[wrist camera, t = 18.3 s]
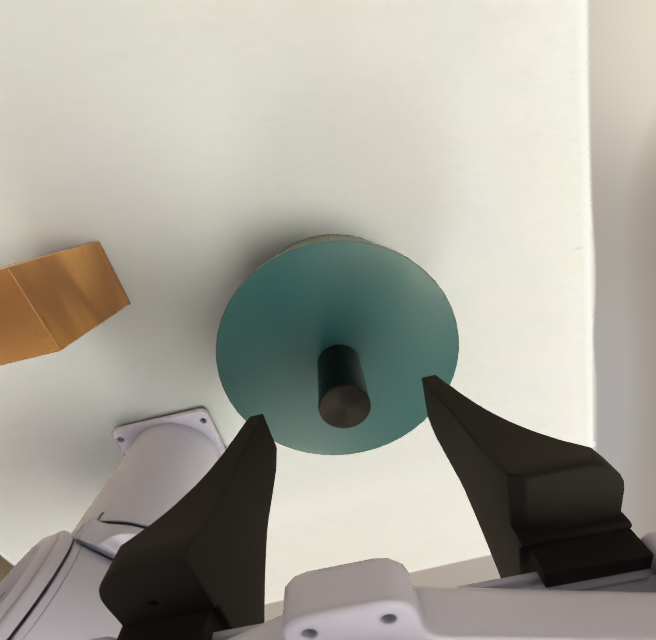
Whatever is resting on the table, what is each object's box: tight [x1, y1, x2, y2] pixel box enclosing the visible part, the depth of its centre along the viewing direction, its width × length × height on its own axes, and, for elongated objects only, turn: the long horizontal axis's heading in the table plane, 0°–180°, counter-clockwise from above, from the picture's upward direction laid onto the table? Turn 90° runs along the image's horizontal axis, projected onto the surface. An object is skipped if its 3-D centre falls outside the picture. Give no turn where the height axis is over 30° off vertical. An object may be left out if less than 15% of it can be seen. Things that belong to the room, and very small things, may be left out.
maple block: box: [0, 241, 130, 365], centre depth 19 cm, size 4×4×7 cm
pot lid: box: [216, 239, 459, 455], centre depth 18 cm, size 14×14×5 cm
